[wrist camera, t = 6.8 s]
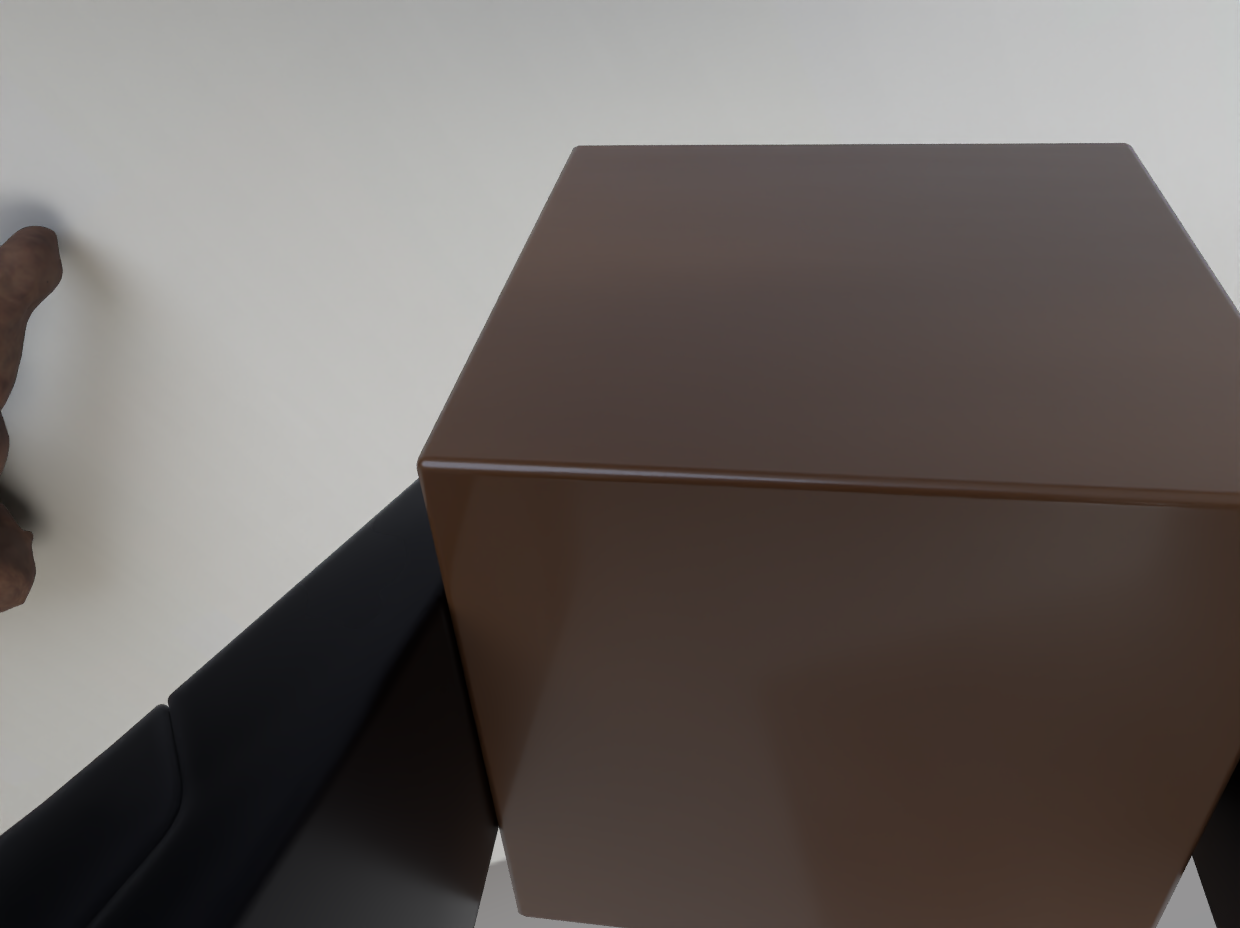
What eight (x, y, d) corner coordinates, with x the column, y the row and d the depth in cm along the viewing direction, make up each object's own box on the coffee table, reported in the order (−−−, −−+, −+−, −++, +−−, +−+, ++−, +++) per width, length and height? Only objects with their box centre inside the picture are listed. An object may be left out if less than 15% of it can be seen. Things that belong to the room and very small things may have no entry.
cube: (1131, 140, 8) (1374, 505, 4) (1028, 559, 11) (1131, 990, 7) (572, 142, 9) (411, 462, 5) (608, 536, 11) (516, 918, 8)
